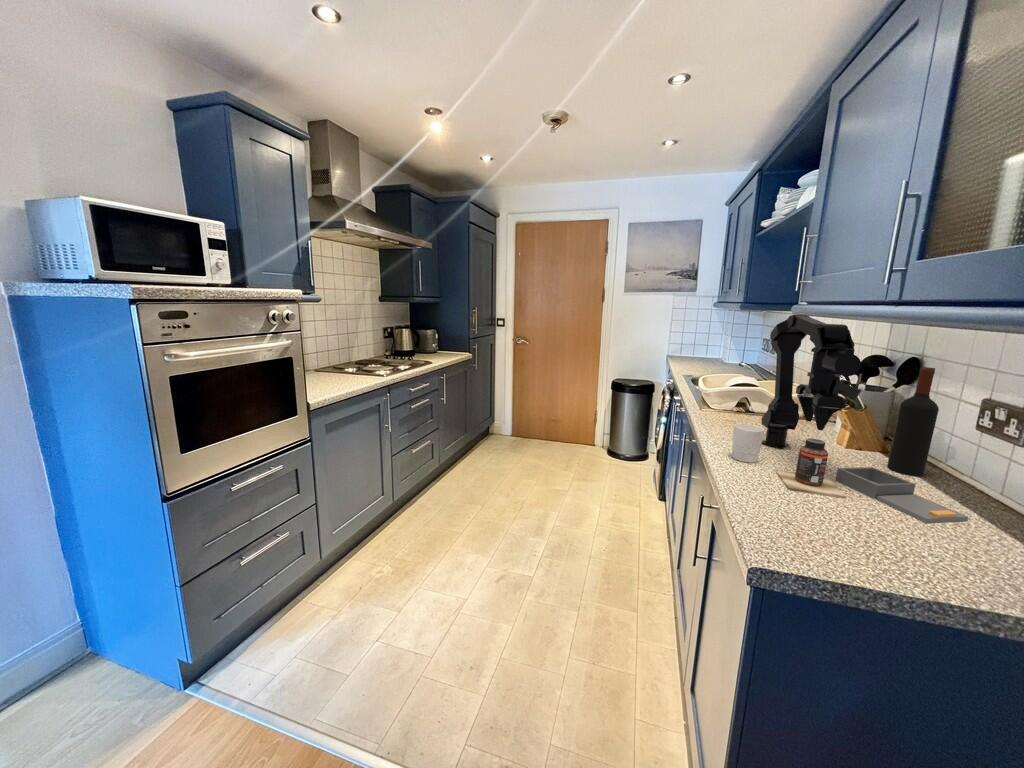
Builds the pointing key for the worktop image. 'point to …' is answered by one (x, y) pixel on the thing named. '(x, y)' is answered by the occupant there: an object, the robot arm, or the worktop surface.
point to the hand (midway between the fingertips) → (814, 425)
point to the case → (896, 494)
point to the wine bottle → (914, 429)
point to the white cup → (747, 442)
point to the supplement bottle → (811, 462)
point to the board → (824, 489)
